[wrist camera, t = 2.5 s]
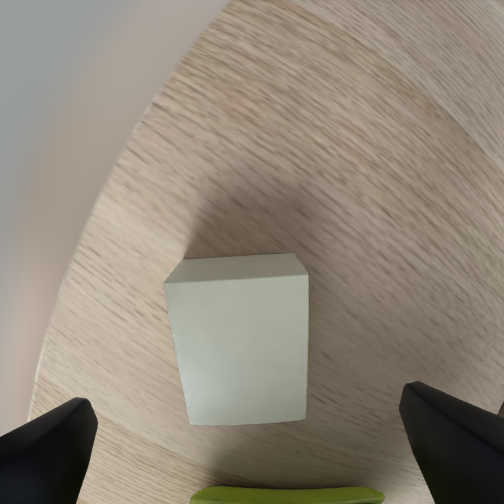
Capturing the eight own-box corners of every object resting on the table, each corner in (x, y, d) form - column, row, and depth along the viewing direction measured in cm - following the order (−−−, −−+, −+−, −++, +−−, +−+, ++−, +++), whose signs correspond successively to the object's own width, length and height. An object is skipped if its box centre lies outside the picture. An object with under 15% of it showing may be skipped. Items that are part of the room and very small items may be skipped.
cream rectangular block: (295, 378, 14) (305, 420, 11) (199, 383, 14) (190, 425, 11) (294, 252, 13) (309, 273, 10) (181, 259, 12) (163, 282, 10)
